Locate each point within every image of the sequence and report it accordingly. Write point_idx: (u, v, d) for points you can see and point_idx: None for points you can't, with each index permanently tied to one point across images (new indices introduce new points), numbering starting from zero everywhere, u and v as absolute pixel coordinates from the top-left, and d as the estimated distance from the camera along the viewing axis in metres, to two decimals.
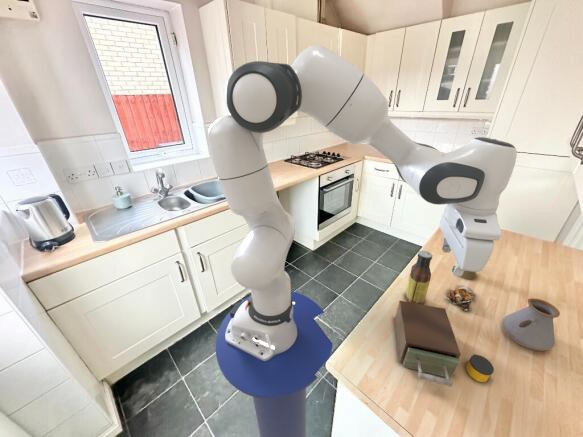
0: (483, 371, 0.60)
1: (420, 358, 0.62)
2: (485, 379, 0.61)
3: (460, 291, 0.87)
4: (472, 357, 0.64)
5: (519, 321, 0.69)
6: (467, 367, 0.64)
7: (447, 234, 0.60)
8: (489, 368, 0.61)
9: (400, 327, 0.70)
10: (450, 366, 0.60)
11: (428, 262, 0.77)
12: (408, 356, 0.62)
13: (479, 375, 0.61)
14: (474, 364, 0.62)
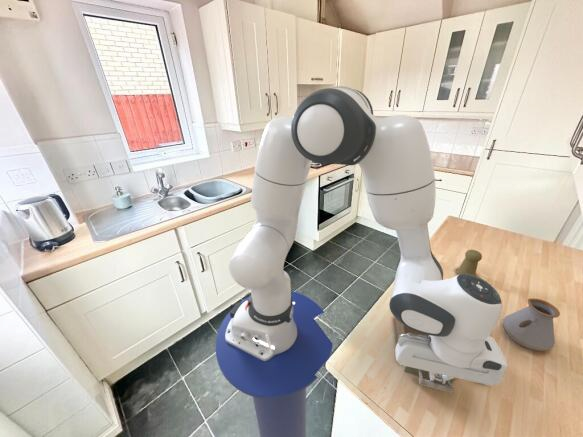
0: None
1: None
2: None
3: None
4: None
5: (519, 321, 0.69)
6: None
7: (434, 368, 0.53)
8: None
9: (400, 327, 0.70)
10: None
11: None
12: None
13: None
14: None
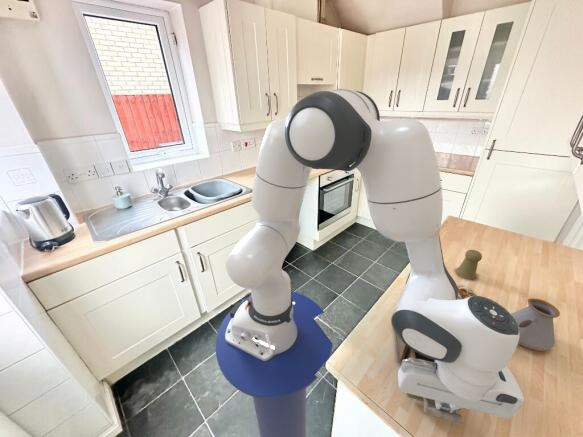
0: None
1: None
2: None
3: (460, 291, 0.87)
4: None
5: (519, 321, 0.69)
6: None
7: (441, 397, 0.48)
8: None
9: None
10: None
11: None
12: None
13: None
14: None
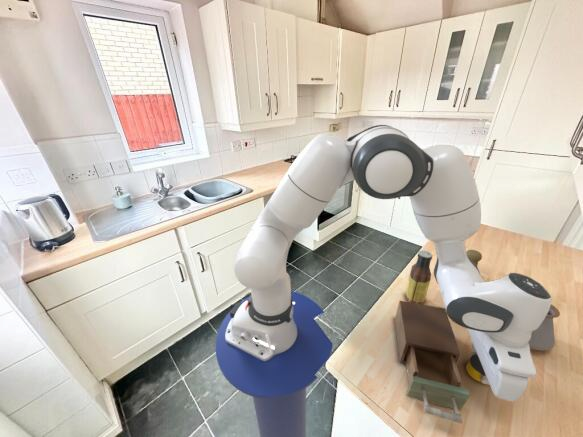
0: (483, 371, 0.61)
1: (426, 388, 0.55)
2: None
3: None
4: (472, 357, 0.64)
5: None
6: (467, 367, 0.64)
7: (476, 343, 0.62)
8: None
9: (400, 327, 0.70)
10: (459, 398, 0.54)
11: (428, 262, 0.77)
12: (413, 386, 0.56)
13: (479, 375, 0.61)
14: (474, 364, 0.62)
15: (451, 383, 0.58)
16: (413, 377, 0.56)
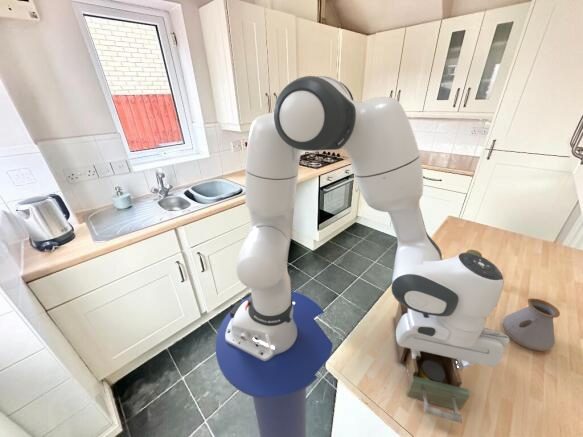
0: (423, 366, 0.60)
1: (426, 388, 0.55)
2: (421, 377, 0.60)
3: None
4: (437, 364, 0.60)
5: (519, 321, 0.69)
6: None
7: None
8: (430, 375, 0.58)
9: None
10: (459, 398, 0.54)
11: None
12: (413, 386, 0.56)
13: (421, 367, 0.61)
14: (428, 362, 0.61)
15: (451, 383, 0.58)
16: (413, 377, 0.56)
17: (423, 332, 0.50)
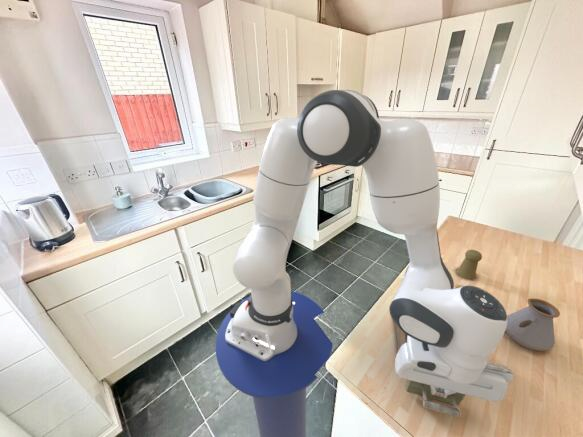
0: None
1: None
2: None
3: None
4: None
5: (519, 321, 0.69)
6: None
7: None
8: None
9: None
10: (458, 393, 0.55)
11: None
12: (412, 381, 0.57)
13: None
14: None
15: None
16: None
17: (423, 366, 0.48)
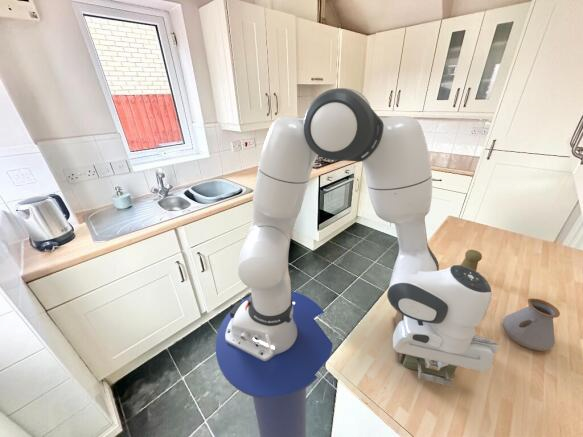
0: None
1: (420, 358, 0.62)
2: None
3: None
4: None
5: (519, 321, 0.69)
6: None
7: None
8: None
9: None
10: (450, 366, 0.60)
11: None
12: (408, 356, 0.62)
13: None
14: None
15: None
16: None
17: (418, 339, 0.53)
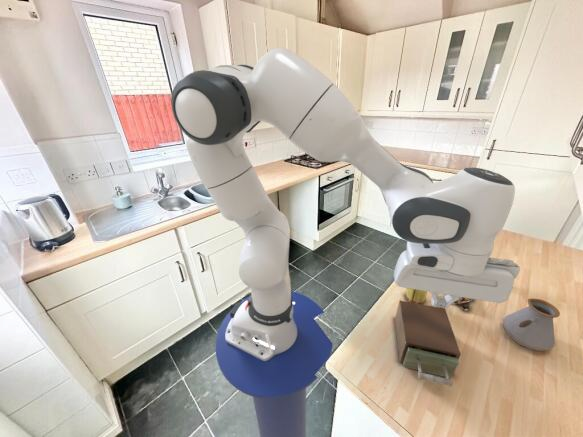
0: None
1: (420, 358, 0.62)
2: None
3: None
4: None
5: (519, 321, 0.69)
6: None
7: None
8: None
9: (400, 327, 0.70)
10: (450, 366, 0.60)
11: None
12: (408, 356, 0.62)
13: None
14: None
15: (443, 355, 0.64)
16: (409, 348, 0.62)
17: (424, 263, 0.45)
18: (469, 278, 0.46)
